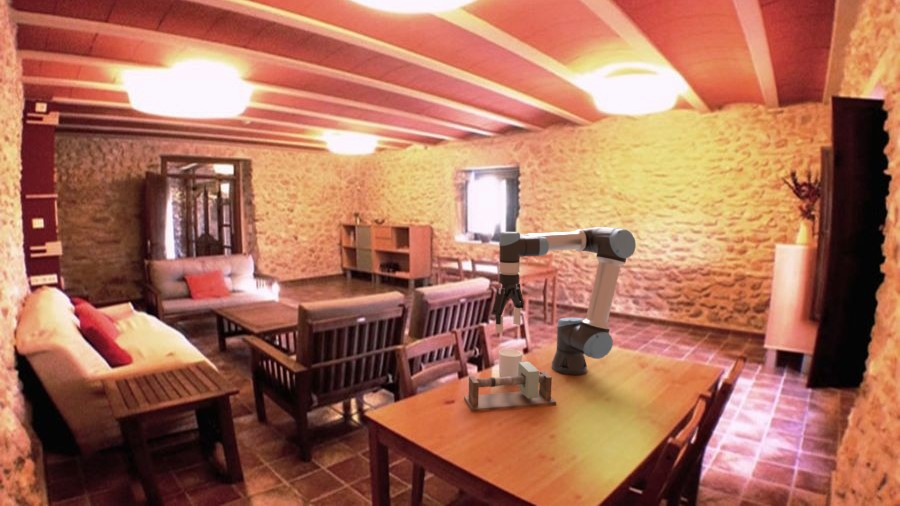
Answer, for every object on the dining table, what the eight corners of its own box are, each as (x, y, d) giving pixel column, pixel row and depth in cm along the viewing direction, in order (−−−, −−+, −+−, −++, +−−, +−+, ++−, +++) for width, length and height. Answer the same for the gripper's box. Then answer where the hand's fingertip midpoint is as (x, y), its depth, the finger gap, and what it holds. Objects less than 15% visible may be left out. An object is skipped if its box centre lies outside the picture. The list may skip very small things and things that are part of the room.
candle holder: (520, 376, 190) (521, 349, 188) (522, 385, 180) (523, 357, 179) (497, 375, 191) (498, 348, 189) (497, 384, 181) (498, 355, 180)
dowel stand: (543, 392, 174) (544, 368, 173) (556, 404, 163) (557, 379, 162) (464, 398, 167) (464, 373, 166) (471, 412, 156) (472, 385, 155)
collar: (527, 386, 172) (528, 361, 171) (538, 397, 162) (539, 371, 161) (517, 387, 171) (518, 362, 170) (527, 398, 161) (528, 371, 160)
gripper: (516, 268, 180) (515, 319, 182) (482, 276, 160) (482, 334, 162) (533, 269, 175) (532, 322, 178) (501, 278, 155) (500, 337, 158)
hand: (508, 328), depth 170 cm, fingers open, 13 cm apart
